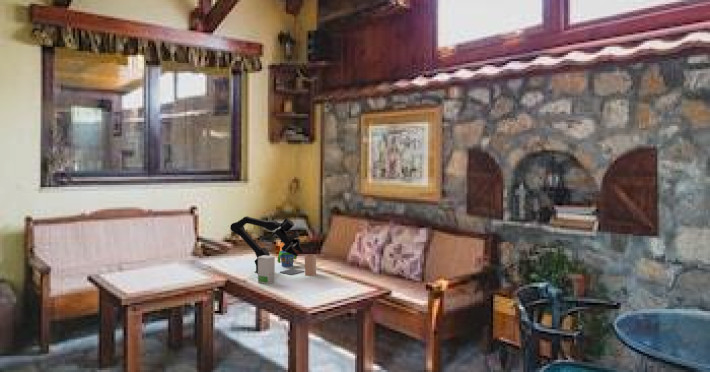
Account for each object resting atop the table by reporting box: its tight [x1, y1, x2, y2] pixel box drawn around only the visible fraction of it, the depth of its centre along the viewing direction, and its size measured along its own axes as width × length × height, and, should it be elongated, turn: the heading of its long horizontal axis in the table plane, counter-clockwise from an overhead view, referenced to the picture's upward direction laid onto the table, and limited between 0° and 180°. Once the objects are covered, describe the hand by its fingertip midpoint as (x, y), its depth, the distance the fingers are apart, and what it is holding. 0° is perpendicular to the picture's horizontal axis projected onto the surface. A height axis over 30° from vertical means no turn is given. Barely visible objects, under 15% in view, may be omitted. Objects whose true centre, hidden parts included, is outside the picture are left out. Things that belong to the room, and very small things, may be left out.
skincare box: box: [257, 255, 276, 285], centre depth 315 cm, size 8×7×16 cm
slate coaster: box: [279, 268, 305, 276], centre depth 339 cm, size 11×11×1 cm
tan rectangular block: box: [304, 254, 317, 277], centre depth 331 cm, size 5×5×12 cm
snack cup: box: [277, 250, 298, 268], centre depth 357 cm, size 16×10×10 cm
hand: (300, 254), depth 333 cm, fingers open, 9 cm apart
